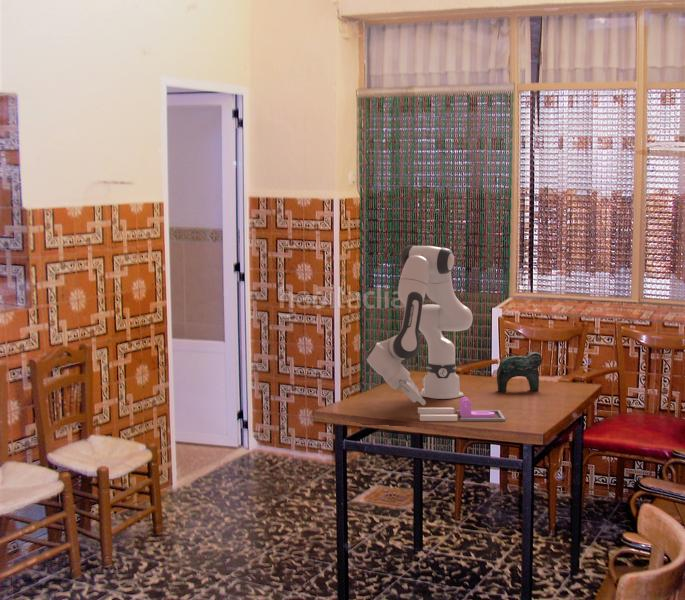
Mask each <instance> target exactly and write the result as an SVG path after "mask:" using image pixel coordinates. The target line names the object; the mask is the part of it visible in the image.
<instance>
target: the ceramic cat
mask: <svg viewBox="0 0 685 600" xmlns="http://www.w3.org/2000/svg"><path fill="white" fill-rule="evenodd" d="M523 347H526V348H527V349H529V347H528V346H527V345H525V344H524V345H521V346H519V349H522V348H523ZM525 353H526V354H524V355H520V354H517V353H513V352H511V353H506V354H504V355H503V356H502V357H501V358H500V361H499V364H498V368H497V370H496V382H497V384H496V385H497V391H498V392H499V393H503V392H504V393H506V392H507V385H508V382H509V381H510V380H511V379H513V378H515V377H517V378H518V377H522V378H523V377H524V378H526V380H527V383H528V386H529V391H530V392H539V386H540V375H539V367H540V366H541V365H542V362H543V357H542V354H541V353H540V350H539V349H538V348H537V349H536V350H535V351H532V352H530V351H529V350H526V351H525ZM509 355H513V356H509ZM506 356H507V357H506ZM504 357H505V358H504Z"/></svg>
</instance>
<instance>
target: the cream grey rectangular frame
mask: <svg viewBox="0 0 685 600" xmlns="http://www.w3.org/2000/svg"><path fill="white" fill-rule="evenodd" d="M471 411H489V412H494V413H495V414H497V415H498V416H499V417H491V418H461V417H460V418H459V422H506V418H505V416H504V414H503V413H502V411H501V410H500V409H495V410H494V409H493V410H492V409H491V410H490V409H486V410H485V409H471ZM455 413H456V414H455ZM417 414H418V415H419V422H458V414H460V409H456V411H455V408H454V407H417Z"/></svg>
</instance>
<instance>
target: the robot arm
mask: <svg viewBox="0 0 685 600" xmlns="http://www.w3.org/2000/svg"><path fill="white" fill-rule="evenodd" d="M399 258H400V259H399V260H400V265H401V267H402V268H403V269H402V270H401V274H400V278H399V282H398V288H397V289H398V290H397V297H398V299H399V300H400V302H401V303H402V304H403V306H404V312H403V319H402V323H401V324H402V325H401V328H400V331H399V333H398V334H396V335H394V336H391V337H390V338H388V339H386V340H381V341H378V342H374V343H372V345H371V346H370V347H369V348H368V350H367V351H366V354H365V359H366V361H367V363H368V364H369V365H370V367H371V368H372V369H373V370H374V371H375V373H377V374H378V375H380V376H381V377H382V378H383V379H384V381H385V382H386V383H387V384H388V386H390V387H391V388H392V390H399V391H401V392H403V394H405V396H406V397H407V398H408V399H409V400H410V401H411V402H412V403H416V402H418V403H419V404H421V405H422V406H425V405H426V404H427V401H426V399H424V398H428V399H429V398H430V399H437V400H439V399H441V400H445V399H446V400H447V399H448V400H449V399H456V398H459V397H465V395H464V392H462V391H460V376H459V375H458V374H457V373H456V372H457V365H456V346H455V344H454V343H453V341H451V340H450V339H447V338H446V337H445V335H443V333H442V331H443V332H461V331H467V330H469V329H470V327H471V326H472V324H473V321H474V320H473V319H474V318H473V313H472V310H471V309H470V308H469V307H467V305H464V304H463V303H462V302H461V301H460V300H459V298H457V296H456V293H455V291H454V287H453V281H452V270H453V268H454V265H455V255H454V252H453V251H452V250H451V249H449V248H446V247H445V246H444V247H439V246H435V245H434V246H433V245H415V244H410V245H407V246H405V247H404V248H403V249H402V251H401V253H400V257H399ZM426 295H427V297H428V299H430V300H431V301H432V302H434V304H432V303H431V304H430V303H429V304H428V303H427V304H424V301H425V299H426ZM419 331H420V332H421V334H422V336H424V338H425V340H426V343H427V349H428V362H427V373H426V374H425V376H423V377H424V378H422V380H421V381H422V389H421V390H419V389H418V386H417V384H415V382H414V381H413V379H412V378H411V377H410V376H411V373H410V371H409V370H408V369H407V368H405V366H404V365H403V364H402V362H403V360H409V359H413V358H414V357H416V356H417V355H418V353H419V352H420V350H421V349H420V348H421V340H420V335H419ZM423 397H424V398H423Z"/></svg>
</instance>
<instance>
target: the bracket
mask: <svg viewBox="0 0 685 600" xmlns="http://www.w3.org/2000/svg"><path fill="white" fill-rule="evenodd" d="M459 410H460V413H459V415H460V418H496V417H495V416H496V413H494V412H489V411H471V410H472V402H471V401H470V399H469V397H466V396H462V398H461V399H460V400H459Z"/></svg>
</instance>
